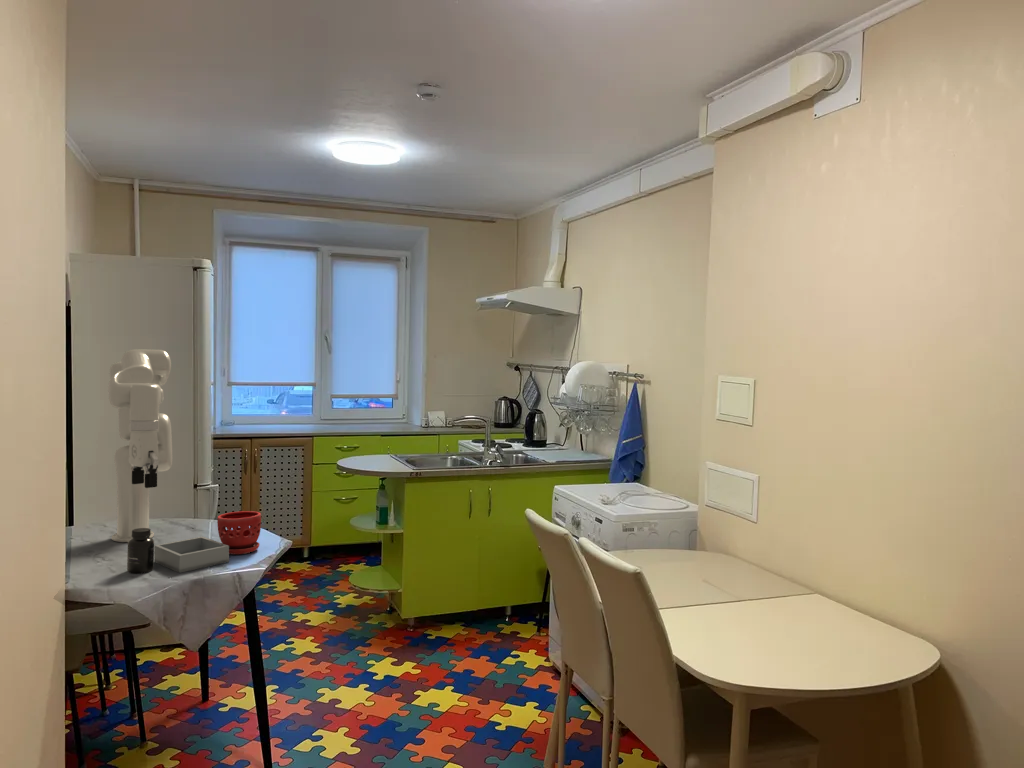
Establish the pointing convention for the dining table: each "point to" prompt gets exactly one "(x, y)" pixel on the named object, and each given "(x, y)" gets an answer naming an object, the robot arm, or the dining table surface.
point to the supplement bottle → (140, 552)
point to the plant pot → (240, 531)
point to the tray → (191, 554)
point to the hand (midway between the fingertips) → (144, 485)
